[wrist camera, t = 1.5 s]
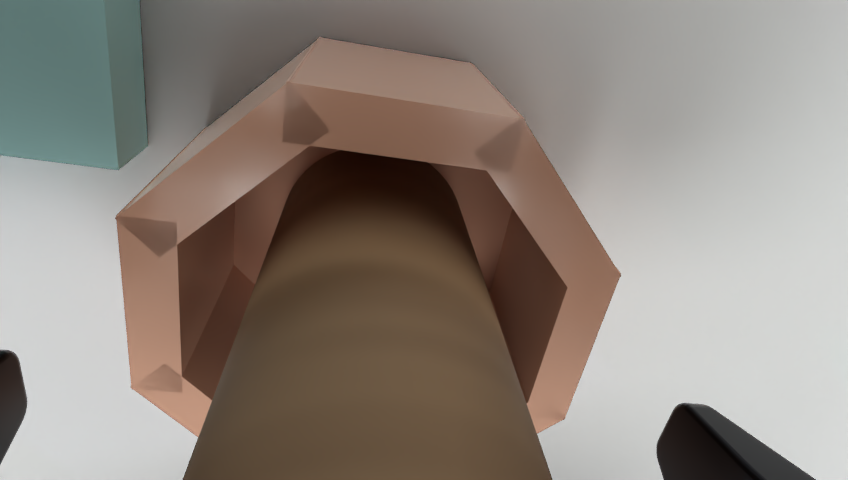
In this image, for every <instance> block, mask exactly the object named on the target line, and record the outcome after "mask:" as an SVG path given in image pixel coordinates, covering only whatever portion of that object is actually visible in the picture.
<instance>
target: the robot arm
mask: <svg viewBox="0 0 848 480" xmlns="http://www.w3.org/2000/svg"><path fill="white" fill-rule="evenodd" d="M26 408H27V396H26V391H25V387H24V382H23V377H22V372H21V367H20V362H19V359H18V357H17V355H16V354H15V353H14V352H12V351H9V350H0V464H1V462H2V460H3V458H4V456H5V454H6V452H7V450H8V448H9V446H10V444H11V443H12V441H13V439H14V437H15V435H16V433H17V431H18V429H19V427H20V425H21V423H22V421H23V419H24V416H25V413H26ZM657 458H658V462H659V465H660V469H661V472H662V475H663V478H664V480H816V479H814V478H813V477H811V476H810V475H808V474H807V473H805V472H804V471H802V470H801V469H800V468H798V467H797V466H795V465H794V464H792V463H791V462H789V461H788V460H787V459H785V458H784V457H782V456H781V455H779V454H778V453H776V452H775V451H774V450H772V449H771V448H769V447H768V446H766V445H765V444H763V443H762V442H760V441H759V440H758V439H756V438H755V437H753V436H752V435H750V434H749V433H747V432H746V431H745V430H743V429H742V428H740V427H739V426H737V425H736V424H734V423H733V422H731V421H730V420H729V419H727V418H726V417H724V416H723V415H721V414H720V413H718V412H717V411H716V410H714V409H713V408H711V407H709V406H707V405H703V404H691V403H681V404H679V405H678V406H676V407H675V408H674V410H673V412H672V414H671V416H670V418H669V420H668V422H667V424H666V426H665V428H664V430H663V432H662V433H661V435H660V437H659V440H658V442H657Z"/></svg>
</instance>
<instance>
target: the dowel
mask: <svg viewBox="0 0 848 480" xmlns="http://www.w3.org/2000/svg"><path fill="white" fill-rule="evenodd" d="M183 480H552V477H551V474H550V471H549V468H548V465H547V462H546V459H545V457H544V454H543V451H542V448H541V445H540V442H539V439H538V436H537V433H536V430H535V427H534V424H533V421H532V418H531V415H530V412H529V410H528V407H527V404H526V401H525V398H524V395H523V392H522V389H521V386H520V383H519V380H518V377H517V374H516V371H515V368H514V365H513V363H512V360H511V357H510V354H509V351H508V348H507V345H506V342H505V339H504V336H503V333H502V330H501V327H500V324H499V321H498V318H497V316H496V313H495V310H494V307H493V304H492V301H491V298H490V295H489V292H488V289H487V286H486V283H485V280H484V277H483V274H482V271H481V269H480V266H479V263H478V260H477V257H476V254H475V251H474V248H473V245H472V242H471V239H470V236H469V233H468V230H467V227H466V224H465V222H464V219H463V216H462V213H461V210H460V207H459V204H458V201H457V199H456V196H455V194H454V192H453V190H452V188H451V187H450V185H449V184H448V182H447V181H446V180H445V178H444V177H443V176H442V175H441V174H440V173H439V172H438V171H437V170H436V169H435V168H434V167H433V166H432V165H430V164H429V163H427V162H423V161H416V160H408V159H401V158H394V157H387V156H380V155H373V154H366V153H359V152H351V151H344V150H339V151H336V152H334V153H332V154H329V155H327V156H325V157H323V158H322V159H320V160H319V161H317V162H316V163H314V164H313V165H312V166H311V167H309V168H308V169H307V170H306V171H305V172H304V173H303V174H302V175H301V176H300V178H299V179H298V180H297V181H296V183H295V184H294V186H293V187H292V189H291V191H290V193H289V195H288V197H287V200H286V202H285V205H284V208H283V210H282V213H281V216H280V219H279V221H278V224H277V227H276V229H275V232H274V235H273V237H272V240H271V243H270V246H269V248H268V251H267V254H266V256H265V259H264V262H263V264H262V267H261V270H260V273H259V275H258V278H257V281H256V283H255V286H254V289H253V291H252V294H251V297H250V300H249V302H248V305H247V308H246V310H245V313H244V316H243V318H242V321H241V324H240V327H239V329H238V332H237V335H236V337H235V340H234V343H233V345H232V348H231V351H230V354H229V356H228V359H227V362H226V364H225V367H224V370H223V372H222V375H221V378H220V381H219V383H218V386H217V389H216V391H215V394H214V397H213V399H212V402H211V405H210V407H209V410H208V413H207V416H206V418H205V421H204V424H203V426H202V429H201V432H200V434H199V437H198V440H197V443H196V445H195V448H194V451H193V453H192V456H191V459H190V461H189V464H188V467H187V470H186V472H185V475H184V478H183Z"/></svg>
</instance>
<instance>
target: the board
mask: <svg viewBox="0 0 848 480" xmlns="http://www.w3.org/2000/svg"><path fill="white" fill-rule="evenodd" d="M147 146H148V140H147V123H146V105H145V88H144V71H143V53H142V36H141V18H140V1H139V0H0V155H3V156H11V157H19V158H27V159H35V160H43V161H51V162H58V163H66V164H74V165H82V166H90V167H98V168H106V169H113V170H119V169H120V168H122V167H123V166H124V165H125V164H127V163H128V162H129V161H130V160H131V159H133V158H134V157H135V156H136V155H138V154H139V153H140V152H141V151H142V150H144V149H145V148H146V147H147Z"/></svg>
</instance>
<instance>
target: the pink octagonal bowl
mask: <svg viewBox="0 0 848 480" xmlns="http://www.w3.org/2000/svg"><path fill="white" fill-rule="evenodd" d="M339 150H344V151H351V152H359V153H366V154H373V155H380V156H387V157H394V158H401V159H408V160H416V161H423V162H427V163H429V164H430V165H432V166H433V167H434V168H435V169H436V170H437V171H438V172H439V173H440V174H441V175H442V176H443V177H444V178H445V180H446V181H447V182H448V184H449V185H450V187H451V188H452V190H453V192H454V194H455V196H456V199H457V201H458V204H459V207H460V210H461V213H462V216H463V219H464V222H465V224H466V227H467V230H468V233H469V236H470V239H471V242H472V245H473V248H474V251H475V254H476V257H477V260H478V263H479V266H480V269H481V271H482V274H483V277H484V280H485V283H486V286H487V289H488V292H489V295H490V298H491V301H492V304H493V307H494V310H495V313H496V316H497V318H498V321H499V324H500V327H501V330H502V333H503V336H504V339H505V342H506V345H507V348H508V351H509V354H510V357H511V360H512V363H513V365H514V368H515V371H516V374H517V377H518V380H519V383H520V386H521V389H522V392H523V395H524V398H525V401H526V404H527V407H528V410H529V412H530V415H531V418H532V421H533V424H534V427H535V430H536V433H539V432H541V431H543V430H545V429H547V428H548V427H550V426H552V425H554V424H556V423H558V422H559V421H561V420H564V419H565V416H566V413H567V411H568V408H569V406H570V403H571V401H572V398H573V396H574V393H575V390H576V388H577V385H578V383H579V380H580V378H581V375H582V372H583V370H584V367H585V365H586V362H587V360H588V357H589V354H590V352H591V349H592V347H593V344H594V342H595V339H596V337H597V334H598V331H599V329H600V326H601V324H602V321H603V319H604V316H605V313H606V311H607V308H608V306H609V303H610V301H611V298H612V296H613V293H614V290H615V288H616V285H617V283H618V280H619V278H620V277H621V273H620V272H619V271H618V269H617V268H616V267H615V265H614V264H613V262H612V261H611V259H610V258H609V256H608V254H607V253H606V251H605V250H604V248H603V246H602V245H601V243H600V241H599V240H598V238H597V237H596V235H595V233H594V232H593V230H592V229H591V227H590V225H589V224H588V222H587V221H586V219H585V217H584V216H583V214H582V213H581V211H580V209H579V208H578V206H577V204H576V203H575V201H574V200H573V198H572V196H571V195H570V193H569V192H568V190H567V188H566V187H565V185H564V184H563V182H562V180H561V179H560V177H559V176H558V174H557V172H556V171H555V169H554V167H553V166H552V164H551V163H550V161H549V159H548V158H547V156H546V155H545V153H544V151H543V150H542V148H541V147H540V145H539V143H538V142H537V140H536V139H535V137H534V135H533V134H532V132H531V130H530V129H529V127H528V126H527V124H526V122H525V118H524V117H523V116H522V115H521V114H520V113H519V112H518V111H517V110H516V109H515V108H514V107H513V106H512V105H511V104H510V103H509V101H508V100H507V99H506V98H505V97H504V96H503V95H502V94H501V93H500V92H499V91H498V90H497V89H496V88H495V87H494V85H493V84H492V83H491V82H490V81H489V80H488V79H487V78H486V77H485V76H484V75H483V74H482V73H481V72H480V71H479V70H478V68H477V67H476V66H475V65H474V64H473V63H471V62H470V63H468V62H462V61H457V60H451V59H445V58H439V57H433V56H427V55H421V54H416V53H410V52H404V51H398V50H392V49H386V48H380V47H374V46H369V45H363V44H357V43H351V42H345V41H339V40H333V39H328V38H322V37H318V39H317V40H316V41H315V42H313V43H312V44H311V45H310V46H308V47H307V48H306V49H305V50H303V51H302V52H301V53H300V54H298V55H297V56H296V57H295V58H293V59H292V60H291V61H290V62H288V63H287V64H286V65H285V66H283V67H282V68H281V69H280V70H278V71H277V72H276V73H275V74H273V75H272V76H271V77H270V78H268V79H267V80H266V81H265V82H263V83H262V84H261V85H260V86H258V87H257V88H256V89H255V90H253V91H252V92H251V93H250V94H248V95H247V96H246V97H244V98H243V99H242V100H241V101H239V102H238V103H237V104H236V105H234V106H233V107H232V108H231V109H229V110H228V111H227V112H226V113H224V114H223V115H222V116H221V117H219V118H218V119H217V120H216V121H214V122H213V123H212V124H211V125H209V126H208V127H205V128H204V129H203V130H202V131H201V132H200V133H199V134H198V135H197V136H196V137H195V138H194V139H193V140H192V141H191V142H190V143H189V144H188V145H187V146H186V147H185V148H184V149H183V150H182V151H181V152H180V153H179V154H178V155H177V156H176V157H175V158H174V159H173V160H172V161H171V162H170V163H169V164H168V165H167V166H166V167H165V168H164V169H163V170H162V171H161V172H160V173H159V174H158V175H157V176H156V177H155V178H154V179H153V180H152V181H151V182H150V183H149V184H148V185H147V186H146V187H145V188H144V189H143V190H142V191H141V192H140V193H139V194H138V195H137V196H136V197H134V198H133V199H132V200H131V201H130V202H129V203H128V204H127V205H126V206H125V207H124V208H123V209H122V210H121V211H120V212H119V213H118V214H117V215H116V218H115V219H116V220H117V230H118V241H119V253H120V264H121V275H122V286H123V297H124V308H125V319H126V330H127V342H128V353H129V364H130V375H131V388H132V389H134V390H135V391H136V392H138V393H139V394H140V395H142V396H143V397H144V398H146V399H147V400H148V401H150V402H151V403H153V404H154V405H155V406H157V407H158V408H159V409H161V410H162V411H163V412H165V413H166V414H167V415H169V416H170V417H172V418H173V419H174V420H176V421H177V422H178V423H180V424H181V425H182V426H184V427H185V428H186V429H188V430H189V431H190V432H192V433H193V434H195V435H196V436H197V437H199V434H200V432H201V429H202V426H203V424H204V421H205V418H206V416H207V413H208V410H209V407H210V405H211V402H212V399H213V397H214V394H215V391H216V389H217V386H218V383H219V381H220V378H221V375H222V372H223V370H224V367H225V364H226V362H227V359H228V356H229V354H230V351H231V348H232V345H233V343H234V340H235V337H236V335H237V332H238V329H239V327H240V324H241V321H242V318H243V316H244V313H245V310H246V308H247V305H248V302H249V300H250V297H251V294H252V291H253V289H254V286H255V283H256V281H257V278H258V275H259V273H260V270H261V267H262V264H263V262H264V259H265V256H266V254H267V251H268V248H269V246H270V243H271V240H272V237H273V235H274V232H275V229H276V227H277V224H278V221H279V219H280V216H281V213H282V210H283V208H284V205H285V202H286V200H287V197H288V195H289V193H290V191H291V189H292V187H293V186H294V184H295V183H296V181H297V180H298V179H299V178H300V176H301V175H302V174H303V173H304V172H305V171H306V170H307V169H308V168H309V167H311V166H312V165H313V164H314V163H316V162H317V161H319V160H320V159H322V158H323V157H325V156H327V155H329V154H332V153H334V152H336V151H339Z"/></svg>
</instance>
